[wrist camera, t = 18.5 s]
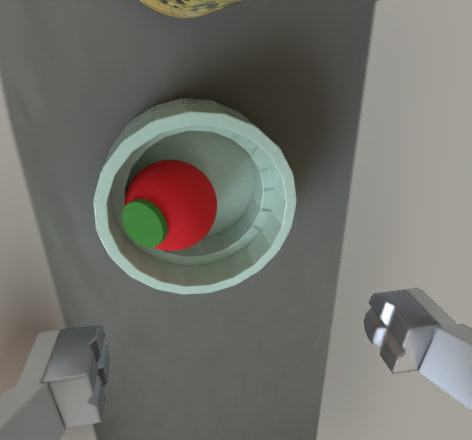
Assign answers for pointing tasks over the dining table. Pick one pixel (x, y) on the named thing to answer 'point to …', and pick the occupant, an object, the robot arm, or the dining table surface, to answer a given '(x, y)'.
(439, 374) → the robot arm
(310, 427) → the dining table surface
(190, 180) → the tomato
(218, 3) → the sauce bottle
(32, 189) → the dining table surface
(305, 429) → the dining table surface
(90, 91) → the dining table surface
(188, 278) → the bowl
